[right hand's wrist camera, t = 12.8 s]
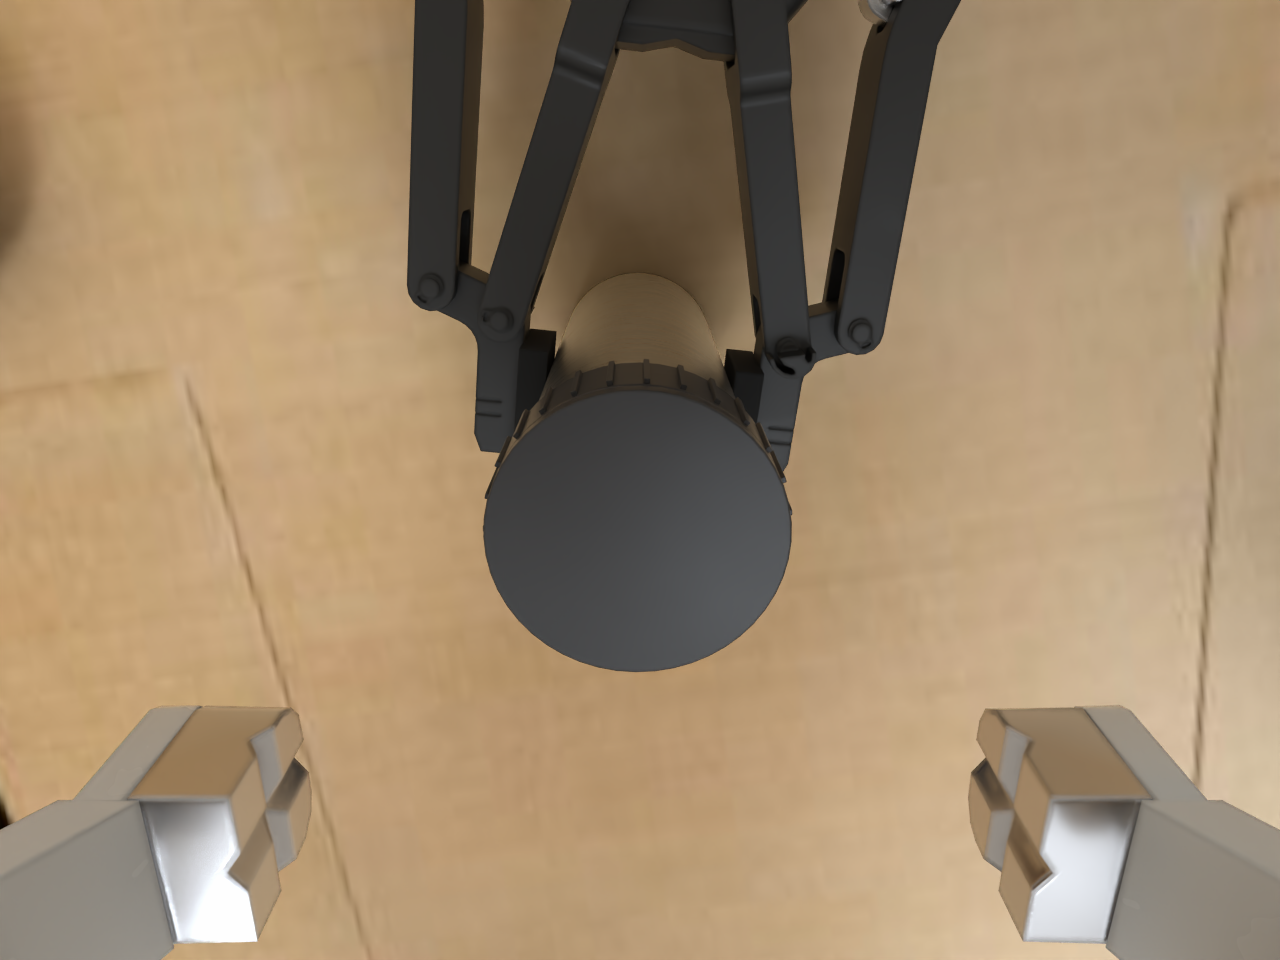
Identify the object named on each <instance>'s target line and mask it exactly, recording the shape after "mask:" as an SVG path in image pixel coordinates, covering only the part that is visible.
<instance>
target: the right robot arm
mask: <svg viewBox="0 0 1280 960" xmlns="http://www.w3.org/2000/svg"><path fill="white" fill-rule="evenodd" d="M303 740H304V739H303V734H302V729H301V724H300V719H299V715H298V714H297V713H296V712H295V711H294V710H293V709H292V708H283V707H236V706H204V707H202V706H160V707H157V708H154V709H151V710H150V711H149V712H148V713H147V714H146V715H145V716H144V717H143V718H142V720H141V721H140V722H139V723H138V724H137V725H136V727H135V728H134V729H133V730H132V731H131V732H130V734H129V735H128V736H127V737H126V738H125V739H124V741H123V742H122V743H121V744H120V745H119V746H118V748H117V749H116V750H115V751H114V752H113V753H112V755H111V756H110V757H109V758H108V759H107V760H106V762H105V763H104V764H103V765H102V766H101V767H100V769H99V770H98V771H97V772H96V773H95V774H94V776H93V777H92V778H91V779H90V780H89V781H88V782H87V784H86V785H85V786H84V787H83V788H82V789H81V791H80V792H79V793H78V794H77V795H76V796H75V798H74V799H73V800H57V801H55V802H54V803H52V804H50V805H48V806H46V807H44V808H42V809H40V810H38V811H36V812H34V813H32V814H30V815H28V816H26V817H24V818H22V819H21V820H19V821H17V822H15V823H13V824H11V825H9V826H7V827H5V828H3V829H1V830H0V960H161V959H162V958H163V957H165V956H166V955H167V954H168V953H169V952H170V951H171V950H173V949H174V944H181V943H215V942H249V941H258V938H259V936H260V934H261V932H262V930H263V928H264V926H265V924H266V922H267V920H268V918H269V916H270V913H271V911H272V909H273V907H274V905H275V903H276V901H277V899H278V897H279V895H280V893H281V885H280V879H279V874H278V872H279V871H280V870H282V869H283V868H284V867H286V866H287V865H289V864H290V863H291V862H293V861H294V860H295V859H297V857H298V854H299V852H300V850H301V848H302V845H303V843H304V841H305V839H306V834H307V829H308V825H309V820H310V815H311V784H310V777H309V772H308V771H307V770H306V769H305V768H304V767H303V766H302V765H301V764H300V763H299V762H298V761H297V760H296V759H295V758H294V756H295V755H296V753H297V751H298V749H299V747H300V745H301V743H302V742H303ZM976 740H977V742H978V743H979V745H980V747H981V749H982V751H983V753H984V755H985V756H986V758H985V759H984V760H983V761H982V762H981V763H980V764H979V765H978V766H977V767H976V768H975V769H974V770H973V771H972V772H971V778H970V787H969V795H968V801H969V813H970V823H971V827H972V830H973V834H974V837H975V841H976V843H977V845H978V848H979V850H980V852H981V854H982V857H983V859H985V860H986V861H987V862H989V863H990V864H991V865H993V866H994V867H996V868H997V869H998V870H1000V871H1001V872H1002V874H1001V880H1000V885H999V893H1000V895H1001V897H1002V899H1003V901H1004V903H1005V905H1006V907H1007V909H1008V911H1009V913H1010V915H1011V917H1012V920H1013V922H1014V924H1015V926H1016V928H1017V930H1018V932H1019V934H1020V936H1021V938H1022V940H1023V941H1028V942H1064V943H1099V944H1106V948H1107V949H1108V950H1109V951H1110V952H1111V953H1112V954H1114V955H1115V956H1116V957H1117V958H1118V959H1119V960H1280V830H1279V829H1277V828H1275V827H1273V826H1271V825H1269V824H1267V823H1265V822H1263V821H1261V820H1259V819H1257V818H1256V817H1254V816H1252V815H1250V814H1248V813H1246V812H1244V811H1242V810H1240V809H1238V808H1236V807H1234V806H1232V805H1230V804H1228V803H1226V802H1225V801H1223V800H1207V799H1206V798H1205V797H1204V795H1203V794H1202V793H1201V792H1200V791H1199V790H1198V788H1197V787H1196V786H1195V785H1194V784H1193V783H1192V781H1191V780H1190V779H1189V778H1188V777H1187V776H1186V774H1185V773H1184V772H1183V771H1182V770H1181V769H1180V767H1179V766H1178V765H1177V764H1176V763H1175V762H1174V760H1173V759H1172V758H1171V757H1170V756H1169V755H1168V753H1167V752H1166V751H1165V750H1164V749H1163V748H1162V746H1161V745H1160V744H1159V743H1158V742H1157V741H1156V739H1155V738H1154V737H1153V736H1152V735H1151V734H1150V732H1149V731H1148V730H1147V729H1146V728H1145V727H1144V725H1143V724H1142V723H1141V722H1140V721H1139V720H1138V719H1137V717H1136V716H1135V715H1134V714H1133V713H1132V712H1131V711H1130V710H1129V709H1127V708H1125V707H1123V706H1120V705H1107V706H1076V707H1074V708H1007V709H985V711H984V713H983V715H982V717H981V719H980V722H979V728H978V733H977V739H976Z"/></svg>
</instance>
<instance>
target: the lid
mask: <svg viewBox="0 0 1280 960" xmlns="http://www.w3.org/2000/svg"><path fill="white" fill-rule="evenodd" d="M495 467H497V468H496V470H495V473H494V475H493V477H492V480H491V482H490V484H489V487H488V489H487V491H486V494H485V499H487V503H486V509H485V515H484V525H483V532H484V534H483V538H484V546H485V554H486V558H487V562H488V566H489V570H490V573H491V576H492V578H493V580H494V583H495V585H496V587H497V590H498V592H499V593H500V595H501V597H502V598H503V600H504V602H505V603H506V605H507V606H508V608H509V609H510V610H511V612H512V613H513V614H514V615H515V617H516V618H517V619H518V620H519V621H520V622H521V623H522V624H523V625H524V626H525V627H526V628H527V629H528V630H529V631H530V632H531V633H532V634H533V635H534V636H536V637H537V638H538V639H540V640H541V641H542V642H544V643H545V644H546V645H548V646H549V647H551V648H553V649H555V650H556V651H558V652H560V653H561V654H563V655H565V656H568V657H570V658H572V659H575V660H577V661H579V662H582V663H585V664H589V665H592V666H595V667H599V668H604V669H610V670H615V671H628V672H647V671H659V670H665V669H671V668H676V667H679V666H683V665H687V664H690V663H693V662H695V661H698V660H700V659H703V658H705V657H708V656H710V655H712V654H713V653H715V652H717V651H719V650H721V649H722V648H724V647H726V646H727V645H729V644H730V643H731V642H733V641H734V640H736V639H737V638H738V637H740V636H741V635H742V634H743V633H744V632H745V631H746V630H747V629H748V628H750V627H751V626H752V625H753V624H754V623H755V621H756V620H757V619H758V618H759V617H760V615H761V614H762V613H763V612H764V611H765V609H766V608H767V606H768V605H769V603H770V602H771V600H772V598H773V597H774V595H775V594H776V592H777V590H778V587H779V585H780V583H781V581H782V579H783V576H784V573H785V570H786V566H787V563H788V560H789V554H790V547H791V535H792V522H791V515H792V509H791V506H790V504H789V502H788V498H787V495H786V491H785V488H784V485H783V483H785V482H786V478H785V476H784V473H783V471H782V469H781V467H780V464H779V462H778V460H777V457H776V455H775V453H774V451H772V448H771V446H770V444H769V441H768V439H767V437H766V434H765V432H764V430H763V427H762V425H761V424H760V422H758V423H756V424H755V422H754V421H753V419H752V418H751V417H750V416H749V414H748V413H747V412H746V411H745V408H744V406H743V403H742V401H741V399H740V398H738V397H737V398H736V399H735V400H734V399H733V398H732V397H731V396H730V395H729V394H728V393H727V392H725V391H724V390H722V389H721V388H719V387H718V386H717V385H716V382H715V380H714V379H713V378H711V377H710V378H709V380H706V379H704V378H702V377H700V376H698V375H696V374H694V373H691V372H688V371H685V370H684V367H683V365H679V364H678V366H677V368H676V367H671V366H667V365H662V364H654V363H649V359H643V363H641V362H637V363H620V364H615V362H614V361H609V363H608V366H603V367H599V368H596V369H593V370H590V371H587V372H584V373H582V372H581V370H579V371H576V373H575V376H574V377H573V378H571V379H569V380H567V381H565V382H564V383H562V384H560V385H559V386H557V387H556V388H554V389H552V387H551V386H550V387H549V388H547V389H546V392H545V395H544V397H543V398H542V399H541V400H539V401H538V402H537V403H536V404H535V405H534V407H533V408H532V409H531V410H530V411H528V410H527V409H525V410H524V412H523V413H522V415H521V418H520V420H519V423H518V425H517V427H516V430H515V432H514V434H513V436H512V437H510V436H507V439H506V441H505V443H504V445H503V448H502V450H501V452H500V454H499V457H498V459H497V461H496V464H495Z"/></svg>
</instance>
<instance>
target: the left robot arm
mask: <svg viewBox="0 0 1280 960" xmlns="http://www.w3.org/2000/svg"><path fill="white" fill-rule="evenodd" d="M807 1H808V0H571V6H570V9H569V12H568V15H567V18H566V22H565V25H564V28H563V31H562V35H561V38H560V41H559V45H558V48H557V52H556V57H555V63H554V67H553V71H552V74H551V78H550V81H549V84H548V87H547V90H546V94H545V97H544V100H543V103H542V107H541V110H540V113H539V116H538V119H537V123H536V126H535V129H534V132H533V136H532V139H531V142H530V145H529V148H528V152H527V155H526V158H525V161H524V164H523V168H522V171H521V174H520V177H519V181H518V184H517V187H516V190H515V193H514V197H513V200H512V203H511V206H510V210H509V213H508V216H507V219H506V222H505V226H504V229H503V232H502V235H501V238H500V242H499V245H498V248H497V251H496V255H495V258H494V261H493V264H492V267H491V271H490V274H488V273H486V272H484V271H482V270H480V269H478V268H476V267H474V266H472V265H471V256H472V237H473V218H474V199H475V180H476V161H477V142H478V123H479V104H480V85H481V66H482V47H483V28H484V5H483V0H415V24H414V59H413V94H412V129H411V164H410V199H409V234H408V270H407V287H408V293H409V296H410V297H411V299H412V301H413V302H414V303H415V304H416V305H418V306H419V307H420V308H422V309H425V310H428V311H436V310H437V311H439V312H441V313H444V314H446V315H448V316H450V317H452V318H454V319H456V320H458V321H460V322H462V323H463V324H465V325H466V326H467V327H468V328H469V329H470V330H471V331H472V333H473V334H474V336H475V338H476V341H477V346H478V360H477V383H476V407H475V412H476V413H475V430H474V434H475V436H476V439H477V442H478V445H479V447H480V450H481V451H486V452H496V453H500V452H501V450H502V448H503V445H504V443H505V441H506V439H507V436H510V437H512V436H513V434H514V432H515V430H516V427H517V425H518V423H519V420H520V418H521V415H522V413H523V412H524V410H525V409H527V410H528V411H530V410H531V409H532V408H533V407H534V405H535V404H536V403H537V402H538V401H539V399H540V397H541V394H542V391H543V389H544V386H545V383H546V381H547V378H548V375H549V373H550V370H551V367H552V365H553V362H554V359H555V345H556V331H548V330H538V329H530V316H531V313H532V311H533V309H534V308H535V307H534V304H535V301H536V298H537V295H538V292H539V289H540V286H541V283H542V280H543V277H544V274H545V271H546V268H547V265H548V262H549V259H550V256H551V253H552V250H553V247H554V244H555V241H556V238H557V235H558V232H559V229H560V226H561V223H562V220H563V217H564V214H565V211H566V208H567V205H568V202H569V199H570V196H571V193H572V190H573V187H574V184H575V181H576V178H577V175H578V172H579V169H580V166H581V163H582V160H583V157H584V154H585V151H586V148H587V145H588V142H589V139H590V135H591V132H592V129H593V126H594V123H595V120H596V117H597V114H598V111H599V108H600V105H601V102H602V99H603V96H604V93H605V91H606V88H607V86H608V83H609V80H610V78H611V75H612V72H613V69H614V66H615V63H616V60H617V57H618V54H619V51H620V49H623V50H631V51H640V52H644V51H649V50H655V49H661V48H667V47H677V48H679V49H681V50H684V51H686V52H688V53H691V54H693V55H695V56H698V57H700V58H702V59H709V60H718V61H724V68H725V78H726V86H727V93H728V98H729V102H730V108H731V116H732V126H733V135H734V145H735V154H736V163H737V173H738V182H739V191H740V201H741V210H742V220H743V229H744V238H745V248H746V257H747V267H748V276H749V285H750V295H751V304H752V313H753V323H754V332H755V337H756V343H755V349H754V354H753V352H751V351H742V350H732V349H727V350H726V358H725V365H724V369H725V372H726V375H727V377H728V380H729V383H730V385H731V388H732V391H733V393H734V396H735V399H736V398H737V397H738V398H740V399H741V401H742V403H743V406H744V408H745V411H746V412H747V413H748V414H749V416H750V417H751V418H752V419H753V421H754V422H755V424H756V423H758V422H760V424H761V425H762V427H763V430H764V432H765V434H766V437H767V439H768V441H769V444H770V446H771V448H772V451H774V453H775V455H776V457H777V460H778V462H779V464H780V467H781V469H782V471H784V469H785V468H786V466H787V464H788V460H789V455H790V449H791V442H792V437H793V429H794V426H795V420H796V414H797V408H798V402H799V396H800V391H801V385H802V381H803V378H804V376H805V375H806V374H807V373H808V372H810V371H811V370H812V368H813V366H814V364H815V363H816V362H818V361H820V360H823V359H825V358H829V357H833V356H838V355H842V354H846V353H852V354H855V355H860V354H866V353H868V352H870V351H872V350H874V349H875V348H876V347H877V346H878V344H879V343H880V341H881V339H882V336H883V333H884V328H885V322H886V317H887V312H888V306H889V301H890V296H891V290H892V285H893V280H894V274H895V269H896V264H897V258H898V253H899V247H900V242H901V237H902V231H903V226H904V221H905V215H906V210H907V205H908V199H909V194H910V189H911V183H912V178H913V172H914V167H915V162H916V156H917V151H918V146H919V140H920V135H921V130H922V124H923V119H924V114H925V108H926V103H927V97H928V92H929V87H930V81H931V76H932V71H933V65H934V60H935V55H936V49H937V45H938V43H939V41H940V39H941V37H942V35H943V33H944V31H945V29H946V28H947V26H948V24H949V22H950V20H951V18H952V16H953V14H954V13H955V11H956V9H957V7H958V5H959V3H960V1H961V0H858V5H859V8H860V11H861V13H862V15H863V16H864V17H865V18H866V19H867V20H868V21H869V22H871V23H873V26H872V28H871V30H870V33H869V36H868V39H867V42H866V45H865V48H864V52H863V56H862V61H861V66H860V70H859V77H858V83H857V89H856V95H855V102H854V108H853V114H852V120H851V126H850V133H849V139H848V145H847V151H846V157H845V164H844V170H843V176H842V182H841V189H840V195H839V201H838V207H837V213H836V220H835V226H834V232H833V238H832V244H831V251H830V257H829V263H828V269H827V276H826V282H825V288H824V294H823V300H822V303H818V304H814V305H810V306H808V299H807V288H806V276H805V264H804V252H803V241H802V229H801V217H800V205H799V193H798V182H797V170H796V158H795V146H794V134H793V123H792V111H791V98H790V91H791V83H792V72H791V58H790V46H789V34H788V23H789V22H790V20H791V19H792V18H793V17H794V16H795V15H796V13H797V12H798V11H799V10H800V9H801V8H802V7H803V5H804V4H805V3H806V2H807Z"/></svg>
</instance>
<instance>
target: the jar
mask: <svg viewBox="0 0 1280 960" xmlns="http://www.w3.org/2000/svg"><path fill="white" fill-rule="evenodd" d="M643 359H649V363H654V364H662V365H667V366H671V367H676V368H677V366H678V364H679V365H683V367H684V370H685V371H688V372H691V373H694V374H696V375H698V376H700V377H702V378H704V379H706V380H709V378H710V377H711V378H713V379H714V380H715V382H716V385H717V386H718V387H719V388H721V389H722V390H724V391H725V392H727V393H728V394H729V395H730V396H731V397H732V398H733V399H734V400H735V396H734V393H733V391H732V388H731V385H730V383H729V380H728V377H727V375H726V372H725V369H724V367H723V364H722V361H721V359H720V356H719V353H718V351H717V348H716V345H715V343H714V340H713V337H712V335H711V332H710V329H709V327H708V324H707V321H706V319H705V317H704V314H703V312H702V310H701V309H700V307H699V305H698V304H697V302H696V301H695V300H694V299H693V298H692V296H691V295H690V294H689V293H687V292H686V291H685V290H684V289H683V288H682V287H680V286H679V285H677V284H676V283H674V282H672V281H670V280H668V279H666V278H663V277H660V276H657V275H653V274H648V273H627V274H622V275H618V276H615V277H612V278H609V279H607V280H605V281H603V282H601V283H599V284H598V285H596V286H595V287H593V288H592V289H591V290H590V291H589V292H588V293H586V294H585V296H584V297H583V298H582V299H581V300H580V301H579V303H578V304H577V306H576V307H575V309H574V311H573V313H572V315H571V317H570V319H569V322H568V324H567V327H566V330H565V332H564V335H563V338H562V340H561V343H560V346H559V349H558V351H557V354H556V357H555V359H554V362H553V365H552V367H551V370H550V373H549V375H548V378H547V381H546V383H545V386H544V389H543V391H542V394H541V397H540V399H539V400H541V399H542V398H543V397H544V395H545V392H546V389H547V388H549V387H550V386H551V387H552V389H554V388H556V387H557V386H559V385H560V384H562V383H564V382H565V381H567V380H569V379H571V378H573V377H574V376H575V373H576V371H579V370H581V372H582V373H584V372H587V371H590V370H593V369H596V368H599V367H603V366H608V363H609V361H614V362H615V364H620V363H637V362H641V363H643Z"/></svg>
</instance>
